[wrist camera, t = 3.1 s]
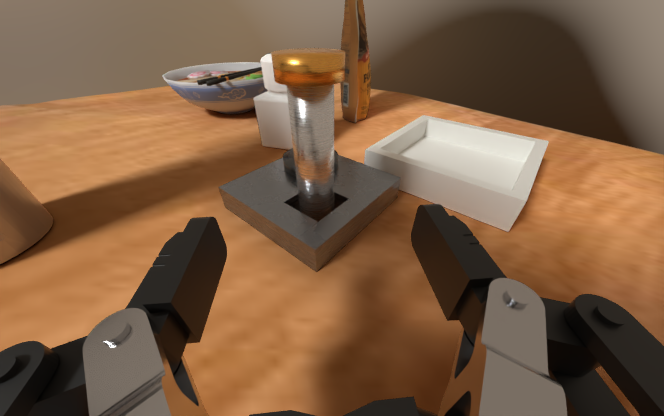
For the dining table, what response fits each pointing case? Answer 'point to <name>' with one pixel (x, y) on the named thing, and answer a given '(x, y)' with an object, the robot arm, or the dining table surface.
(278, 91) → the medicine bottle
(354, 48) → the pancake mix bag
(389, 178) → the grey flat square block
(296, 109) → the pin
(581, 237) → the dining table surface
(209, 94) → the ramen bowl
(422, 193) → the tray
